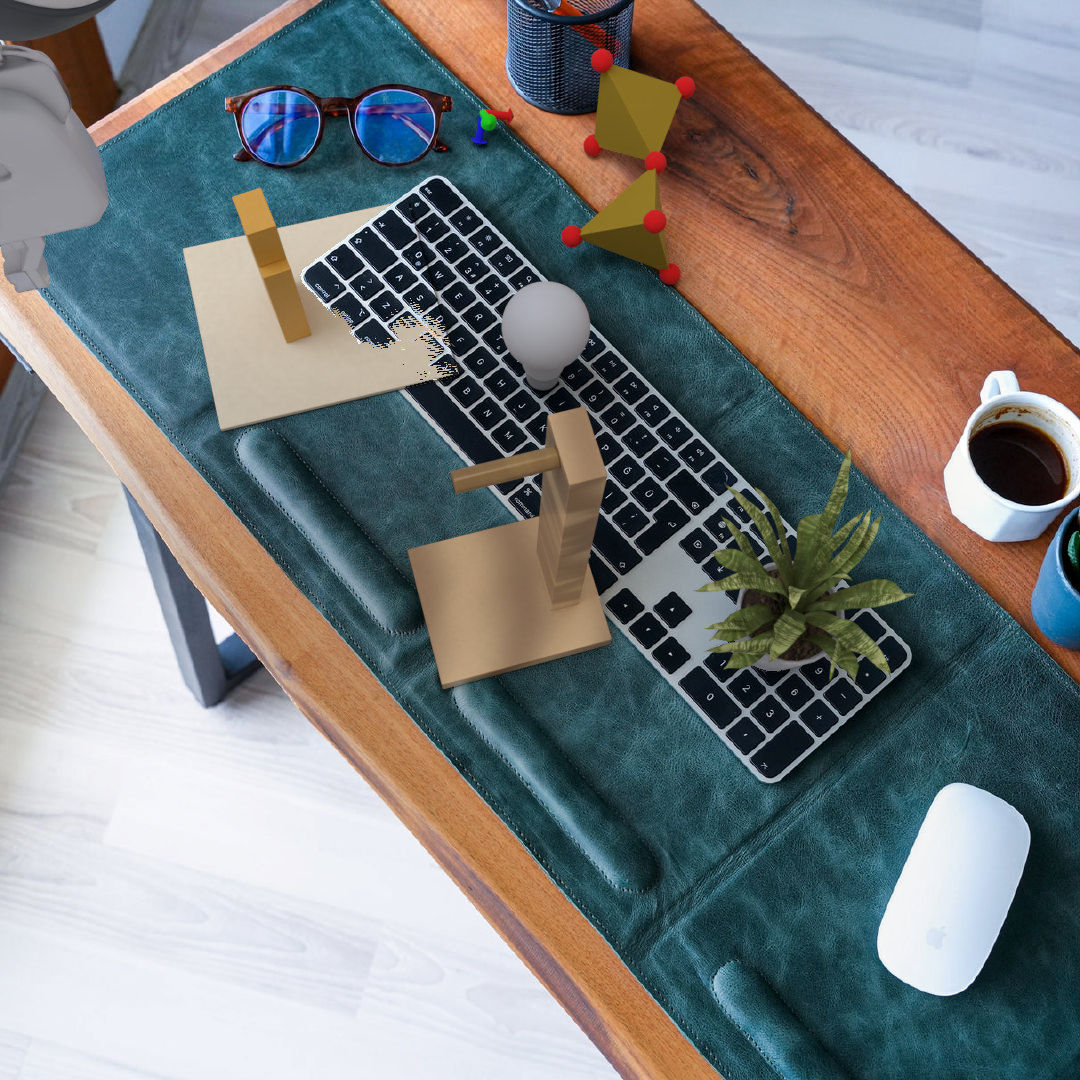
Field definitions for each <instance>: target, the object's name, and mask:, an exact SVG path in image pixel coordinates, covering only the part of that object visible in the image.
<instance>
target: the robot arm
mask: <svg viewBox="0 0 1080 1080" xmlns="http://www.w3.org/2000/svg"><path fill="white" fill-rule="evenodd" d="M116 1H117V0H0V252H1V257H2V258H3V260H4V262H3V263H2V268H3V275H4V277H5V278H6V280H7V281H8V282H9V284H11V285H13V287H14V290H15V292H16V293H18V294H20V293H25V292H30V291H31V292H32V291H35V290H41V289H46V288H49V287H50V286H51V282H50V274H49V267H48V264H47V260H46V257H45V255H44V252H45V248H46V238H45V236H50V235H54V234H59V233H63V232H68V231H73V230H77V229H83V228H87V227H91V226H94V225H95V224H98V223H99V222H100V221H101V218H102V217H103V216H104V213H105V212H106V209H107V208H108V206H109V191H108V184H107V179H106V178H107V177H106V173H105V168H104V163H103V160H102V156H101V152H100V150H99V148H98V146H97V144H96V142H95V141H94V139H93V137H92V136H91V133H89V131H88V129H87V128H86V126H85V125H84V123H83V122H82V121H81V118H79V116H78V114H77V113H76V112H75V110H74V109H73V108H72V106H73V104H72V103H73V102H72V101H73V100H72V96H71V93H70V91H69V88H68V87H67V85H66V83H65V81H64V80H63V79H64V78H63V77H62V75H61V73H60V71H59V70H58V68H57V66H56V65H55V63H54V62H53V60H52V59H51V58H50V56H48V54H45V52H43V51H41V50H37V49H32V48H29V47H26V46H22V45H16V44H3V43H2V41H5V42H27V41H34V40H39V39H43V38H45V37H49V36H53V35H56V34H59V33H61V32H64V31H66V30H69V29H71V28H73V27H75V26H77V25H79V24H81V23H84V22H86V21H88V20H90V19H91V18H93V17H95V16H96V15H98V14H100V13H101V12H103V11H104V10H105V9H107V8H108V7H110V6H112V5H113V4H114V3H115V2H116Z"/></svg>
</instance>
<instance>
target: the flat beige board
mask: <svg viewBox="0 0 1080 1080" xmlns="http://www.w3.org/2000/svg"><path fill="white" fill-rule="evenodd" d="M392 203H393V202H392ZM392 203H387V204H383V205H377V206H373V207H368V208H365V209H364V208H363V209H359V210H355V211H351V212H346V213H342V214H337V215H331V216H327V217H323V218H317V219H314V220H308V221H303V222H298V223H294V224H291V225H286V226H281V227H277V230H278V233H279V236H280V239H281V242H282V245H283V249H284V252H285V255H286V258H287V260H288V263H289V265H290V268H291V271H292V274H293V277H294V280H295V283H296V287H297V290H298V293H299V296H300V299H301V302H302V305H303V309H304V312H305V315H306V318H307V321H308V324H309V327H310V331H311V334H312V335H310V336H307V337H305V338H302V339H299V340H296V341H293V342H290V343H286V340H285V338H284V335H283V333H282V330H281V328H280V325H279V323H278V320H277V318H276V315H275V312H274V310H273V307H272V305H271V302H270V300H269V297H268V295H267V292H266V289H265V287H264V284H263V281H262V279H261V276H260V273H259V270H258V268H257V265H256V262H255V259H254V257H253V254H252V251H251V249H250V246H249V243H248V240H247V238H246V235H245V234H244V235H240V236H235V237H231V238H225V239H221V240H216V241H212V242H206V243H201V244H197V245H193V246H188V247H184V248H182V252H183V256H184V262H185V266H186V267H185V268H186V272H187V277H188V281H189V285H190V289H191V290H190V291H191V295H192V300H193V304H194V309H195V315H196V319H197V325H198V328H199V333H200V338H201V343H202V348H203V352H204V358H205V362H206V367H207V372H208V376H209V382H210V386H211V387H210V388H211V391H212V397H213V400H214V405H215V411H216V415H217V420H218V424H219V425H218V426H219V429H220V431H221V432H225V431H229V430H233V429H238V428H243V427H246V426H250V425H254V424H258V423H259V424H260V423H263V422H269V421H271V420H275V419H280V418H283V417H284V418H285V417H289V416H293V415H298V414H301V413H305V412H310V411H314V410H318V409H322V408H327V407H331V406H336V405H339V404H344V403H347V402H352V401H357V400H361V399H365V398H369V397H373V396H378V395H381V394H382V395H383V394H386V393H390V392H394V391H398V390H403V389H406V388H405V387H406V386H410V385H414V384H418V383H422V382H425V381H429V380H433V379H439V378H443V377H446V376H450V375H453V374H444V375H442V374H443V373H447V372H439V373H437V372H438V371H449V370H451V369H444V368H445V367H438V368H436V367H437V366H441V365H433V366H428V365H429V364H431V363H432V362H434V361H436V360H434V359H436V358H432V357H434V356H437V355H438V354H440V353H442V352H440V353H435V352H439V351H444V350H439V349H441V348H443V347H441V348H435V347H438V346H440V345H437V346H433V345H435V344H436V343H433V344H428V343H430V342H435V341H430V342H425V341H429V340H433V339H431V338H433V337H435V336H432V337H428V336H430V335H443V334H444V333H442V332H444V331H441V330H444V329H445V328H446V325H445V326H440V327H445V328H443V329H438V328H440V327H437V326H439V325H441V324H437V323H440V322H434V321H437V320H431V319H434V318H429V317H431V316H426V317H424V318H426V319H422V320H423V321H422V322H424V324H427V326H428V327H429V328H430V329H432V330H428V329H429V328H424V327H426V326H420V325H422V324H418V323H421V322H416V321H418V320H413V319H415V318H411V317H412V316H408V318H409V319H403V318H404V317H401V318H400V319H402V320H403V321H404V323H406V324H408V327H410V328H406V327H407V326H403V325H404V324H400V323H403V322H399V321H402V320H396V323H393V326H392V327H393V328H391V329H394V330H392V331H395V335H396V336H397V337H398V338H399V340H401V341H395V342H389V343H390V344H391V345H386V346H388V348H383V347H385V346H381V345H382V344H378V345H373V346H371V345H372V344H374V343H371V344H369V342H364V343H362V342H363V341H364V340H363V341H360V342H361V343H360V344H358V342H357V339H356V337H354V335H353V336H352V334H353V333H352V334H350V333H351V332H352V331H351V330H352V328H353V327H355V326H352V327H350V326H351V325H352V324H350V325H348V324H349V323H351V322H349V323H347V322H348V321H349V320H348V321H346V320H347V319H344V318H345V317H342V316H343V315H341V314H342V313H339V312H340V311H338V310H339V309H337V310H333V311H335V312H334V313H336V314H335V315H333V314H334V313H332V311H330V310H331V309H328V307H327V308H326V307H325V306H323V304H322V302H320V301H319V300H318V299H317V298H318V297H316V295H314V293H313V292H311V291H310V290H308V289H307V287H305V285H304V284H303V283H302V280H301V276H300V275H301V273H302V270H303V269H304V268H305V267H307V266H309V265H310V264H311V263H313V262H314V261H315V259H317V258H319V257H320V256H322V255H323V254H324V253H326V252H327V251H328V250H331V248H332V247H334V246H335V245H336V244H338V243H339V242H341V241H342V240H343V239H344V238H346V237H347V236H348V235H349V234H352V233H354V232H355V231H356V230H357V229H358V228H360V227H361V226H363V225H364V224H365V223H366V222H367V221H368V220H370V219H371V218H373V217H375V216H376V215H377V214H379V212H381V211H382V210H384V209H386V208H387V207H388V206H389V205H390V204H392ZM410 299H411V298H410ZM411 301H412V300H411ZM413 303H415V302H413ZM325 304H327V303H325ZM410 304H412V303H410ZM416 305H419V304H414V305H411V306H412V308H416V307H420V306H416ZM413 306H416V307H413ZM336 308H337V307H336ZM336 308H333V309H336ZM327 309H328V310H327ZM419 309H420V308H418V309H413V310H415V311H413V312H418V313H415V314H423V313H424V312H422V311H423V310H420V311H417V310H419ZM395 310H396V309H395ZM337 311H338V312H337ZM396 312H398V311H396ZM420 312H422V313H420ZM338 313H339V314H338ZM391 313H392V312H391ZM339 315H340V316H339ZM344 315H345V314H344ZM391 315H394V314H391ZM424 315H425V314H424ZM428 315H429V314H428ZM335 316H336V317H335ZM419 316H420V315H419ZM340 317H341V318H340ZM386 318H388V317H386ZM421 318H423V317H421ZM406 320H411V321H406ZM419 320H420V319H419ZM424 320H427V321H424ZM428 320H431V321H428ZM409 322H414V323H416V325H410V324H412V323H409ZM428 322H433V324H436V325H429V324H431V323H428ZM394 324H399V325H394ZM396 326H399V327H396ZM413 326H415V327H413ZM433 326H434V327H433ZM390 327H391V326H390ZM349 331H350V332H349ZM422 331H436V333H437V334H429V335H424V334H426V333H428V332H426V333H421V332H422ZM396 333H397V334H396ZM432 333H435V332H432ZM420 334H423V335H421V336H423V338H419V337H421V336H418V335H420ZM443 336H444V335H443ZM443 336H436V337H443ZM416 337H418V338H416ZM413 338H415V339H417V340H416V341H414V340H415V339H413ZM361 339H362V338H361ZM375 339H376V338H375ZM387 339H390V338H387ZM421 339H426V340H421ZM436 339H439V338H436ZM441 339H442V338H441ZM443 339H449V336H448V337H447V338H443ZM395 340H398V339H395ZM412 340H413V341H412ZM390 341H392V340H390ZM410 341H411V342H410ZM445 341H449V342H450V339H449V340H445ZM449 342H444V343H447V344H448V345H450V346H451V343H449ZM377 343H379V342H377ZM394 343H395V344H394ZM384 344H388V343H384ZM448 345H446V346H448ZM375 346H380V347H375ZM390 346H391V347H390ZM425 346H426V347H425ZM373 347H375V348H373ZM401 347H403V348H401ZM381 348H382V349H381ZM427 348H431V349H427ZM401 349H405V350H401ZM430 350H435V351H430ZM446 350H447V349H446ZM428 355H434V356H428ZM444 355H446V354H444ZM430 360H434V361H430ZM428 363H429V364H428ZM438 363H439V362H438ZM444 363H447V362H444ZM403 364H404V365H403ZM446 365H447V364H446ZM448 365H451V364H448ZM449 367H451V366H449ZM452 367H457V365H456V366H452ZM439 368H442V369H443V370H437V369H439ZM455 370H456V372H458V373H459V370H458V367H457V368H455ZM424 371H425V372H424ZM417 372H418V373H417ZM429 372H430V374H424V373H429ZM451 372H454V371H449V373H451ZM420 374H422V375H420ZM425 376H426V377H425ZM420 379H423V380H420Z"/></svg>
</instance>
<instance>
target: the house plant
mask: <svg viewBox="0 0 1080 1080" xmlns="http://www.w3.org/2000/svg"><path fill="white" fill-rule="evenodd" d="M851 463H852V454H851V446H849V447H848V449H847V451H846V453H845V456H844V459H843V461H842V463H841V467H840V468H839V471H838V474H837V478H836V479H835V483H834V485H833V488H832V491H831V493H830V496H829V498H828V501H827V503H826V505H825V507H824V509H823V511H822V513H815V514H809V515H808V514H807V515H805V516H803V518H801V519H800V520H799V522H798V524H797V528H796V549H795V553H794V558H793V559H792V555H791V550H790V548H789V547H790V546H789V544H788V539H787V535H786V531H785V526H784V523H783V519H782V517H781V514H780V511H779V509H778V508H777V507H776V506H775V505H776V504H774V503H773V502H772V500H770V498H768V496H767V495H766V494H765V493H764V492H763V491H762V490H761V489H759V488H757V487H755V485H753V486H754V489H755V490H756V492H757V494H758V495H759V496H760V498H761V499H762V500H763V502H764V504H765V505H766V507H767V509H768V511H769V512H770V514H771V516H772V519H773V522H774V524H775V527H776V531H777V534H778V539H777V536H776V533H775V532H774V529H773V527H772V524H771V523H770V522H769V520H768V518H767V516H766V514H765V513H764V512H762V510H760V509H759V508H758V507H757V506H756V505H755V504H754V503H752V502H751V501H749V500H748V499H747V498H746V496H744V495H743V494H742V493H740V492H739V490H737V489H734V488H732V487H730V486H728V484H727V483H724V484H725V487H726V488H727V490H728V491H729V493H731V494H732V496H733V497H734V498H735V499H736V501H737V502H738V504H740V505H741V507H742V508H743V509H744V510H745V512H746V513H747V514H748V516H749V517H750V519H751V520H752V521H753V523H754V524H755V526H756V527H757V529H758V531H759V533H760V535H761V537H762V539H763V541H764V544H765V548H766V549H767V552H768V555H769V557H770V558H771V560H772V561H773V562H770V563H766V564H764V565H763V564H762V563H761V561H760V560H759V558H758V557H757V555H756V553H755V551H754V549H753V546H752V544H751V543H750V540H749V539H748V536H746V535H745V534H744V533H743V532H742V531H741V530H740V529H738V528H737V526H736V525H734V523H732V522H731V520H729V519H727V518H725V517H723V516H722V514H721V515H720V516H721V518H722V519H721V520H722V521H723V522H724V523H725V525H726V526H727V528H728V530H729V531H730V533H731V535H732V536H733V538H734V540H735V542H736V543H737V545H738V547H739V549H740V550H738V549H736V548H725V549H724V548H723V549H719V550H716V551H711V552H710V554H712V555H713V556H714V557H715V560H716V561H717V562H718V564H720V565H721V566H722V567H724V568H726V569H728V570H730V571H733V572H735V573H733V574H731V575H729V576H726V577H724V578H722V579H719V580H715V581H712V582H709V583H706V584H704V585H702V586H701V587H699V588H698V589H696V590H693V589H692V592H697V593H708V592H722V591H736V590H739V593H738V596H737V600H736V604H735V605H736V606H735V611H734V612H731V613H730V614H728V615H727V617H726V618H725V619H724V621H720V622H716V623H712V624H711V625H708V626H707V627H706V628H705V627H704V628H703V629H704V630H716V631H715V634H714V635H713V636H712V637H711V638H710V639H709V640H708V642H711V641H713V640H717V641H723V642H727V643H724V644H721V645H717V646H714V647H711V648H708V649H707V650H704V651H703V652H702V654H703V653H706V652H710V653H716V654H721V653H732V654H731V656H730V658H729V660H728V662H727V663H726V666H725V667H724V668H723V670H726V669H745V668H747V667H748V668H749V667H751V666H752V665H753V666H755V667H757V668H759V669H758V670H760V669H763V670H766V671H765V672H767V671H777V672H781V670H782V671H786V670H791V669H793V668H797V667H801V666H804V665H808V664H812V663H815V662H817V661H818V660H821V659H822V658H824V657H826V656H828V657H829V659H831V664H830V669H829V681H831V680H832V678H833V676H834V671H835V668H836V665H837V666H839V667H840V668H841V669H842V670H844V671H845V672H847V674H848V675H849V676H850V677H851V678H852V680H853V685H855V684H856V678H857V674H858V671H859V668H860V664H859V661H858V658H857V656H856V655H855V653H857V654H859V655H863V656H865V658H867V659H868V660H869V661H870V662H871V663H872V664H873V665H874V666H875V667H876V668H878V669H879V670H881V671H883V672H885V673H886V674H888V676H889V678H890V679H892V676H891V675H892V674H891V669H890V666H889V664H888V661H887V659H886V657H885V654H884V652H883V651H882V650H881V649H880V647H879V646H878V645H877V643H876V641H875V640H873V638H871V637H870V636H869V634H867V633H866V632H865V631H864V630H863V629H862V628H861V627H860V626H859V625H858V624H857V623H855V622H854V621H853V620H852V619H846V617H845V610H851V609H871V608H878V607H882V606H886V605H890V604H893V603H897V602H900V601H903V600H906V599H907V598H908V599H909V598H911V597H914V596H916V595H918V593H907V592H906V593H904V591H903V590H902V589H901V588H900V586H898V585H897V583H896V582H894V581H892V580H888V579H883V578H876V579H870V580H867V581H864V582H860V583H857V584H854V585H852V586H848V587H845V588H843V589H839V590H838V589H837V588H836V586H837V584H839V583H840V582H842V580H843V579H846V580H851V581H853V579H852V577H851V576H850V575H848V574H849V573H850V571H852V569H854V568H855V567H856V566H857V565H858V564H859V563H860V562H861V561H862V560H863V559H864V557H865V556H866V555H867V553H868V551H869V550H870V548H871V546H872V544H873V543H874V541H875V538H876V536H877V534H878V531H879V529H880V525H881V521H882V518H883V513H881V514H880V515H879V516H878V517H876V519H874V521H873V522H872V523H871V525H870V522H871V515H872V514H871V513H872V508H870V509H869V510H868V511H867V512H866V510H864V511H862V512H860V513H859V514H857V515H856V516H855V517H853V518H851V519H850V520H849V521H848V522H847V523H845V524H844V525H843V526H842V527H841V528H839V530H838V531H837V532H836V533H834V534H833V531H834V527H835V525H836V523H837V520H838V518H839V516H840V514H841V511H842V509H843V506H844V504H845V501H846V498H847V496H848V490H849V477H850V469H851V465H852V464H851ZM865 512H866V514H865V515H864V518H863V519H862V517H863V514H864V513H865ZM861 519H862V522H861V524H860V525H859V526H858V527H857V528H856V529H855V531H854V532H853V533H852V535H851V536H850V538H849V540H848V542H847V543H846V544H845V546H844V547H843V549H842V550H841V551H839V553H838V554H837V555H835V557H834V558H833V559H831V558H832V555H833V553H834V552H835V551H837V549H838V548H839V547H840V546H841V545H842V544H843V543H844V542H845V541H846V539H847V538H848V537H849V534H850V533H851V531H852V530H853V528H854V527H855V526H856V525H857V524H858V523H859V521H860V520H861ZM869 525H870V526H869ZM868 528H869V529H868ZM778 540H779V542H780V544H779V542H778ZM780 545H781V547H780ZM781 548H782V550H781ZM734 641H735V642H734ZM753 666H752V667H753ZM755 667H754V668H755ZM757 668H756V669H757ZM763 670H762V671H763Z"/></svg>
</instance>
